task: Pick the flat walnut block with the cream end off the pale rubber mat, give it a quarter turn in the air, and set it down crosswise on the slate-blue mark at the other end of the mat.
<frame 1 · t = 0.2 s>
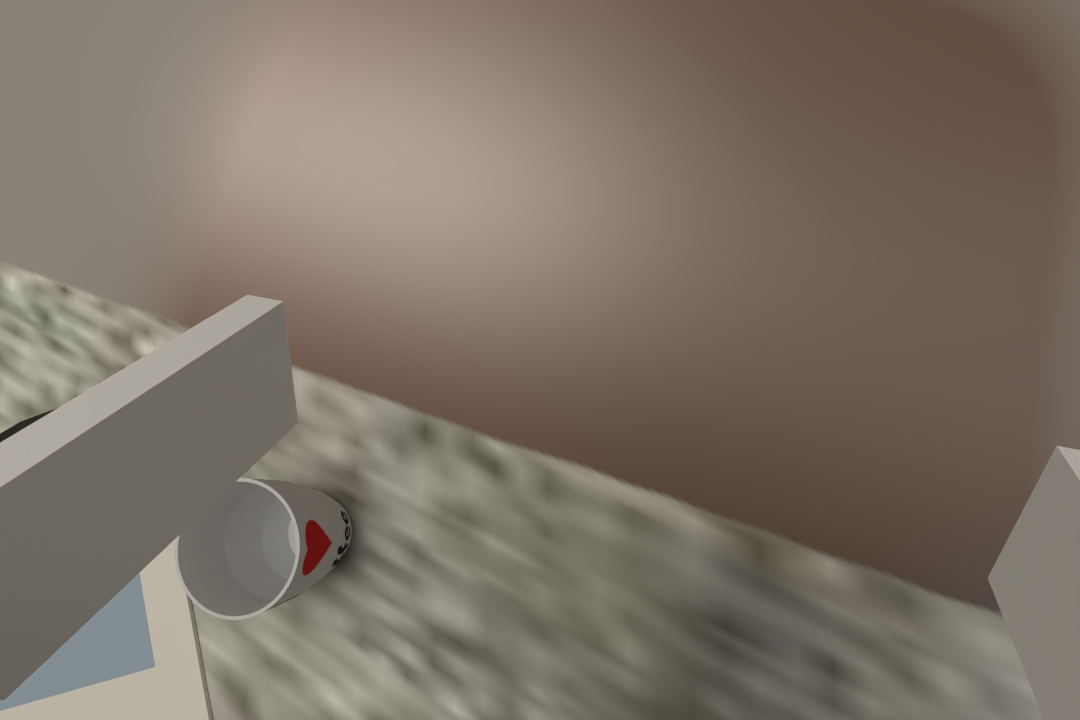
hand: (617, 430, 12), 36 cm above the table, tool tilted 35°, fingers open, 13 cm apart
cup: (320, 531, 51), on the table
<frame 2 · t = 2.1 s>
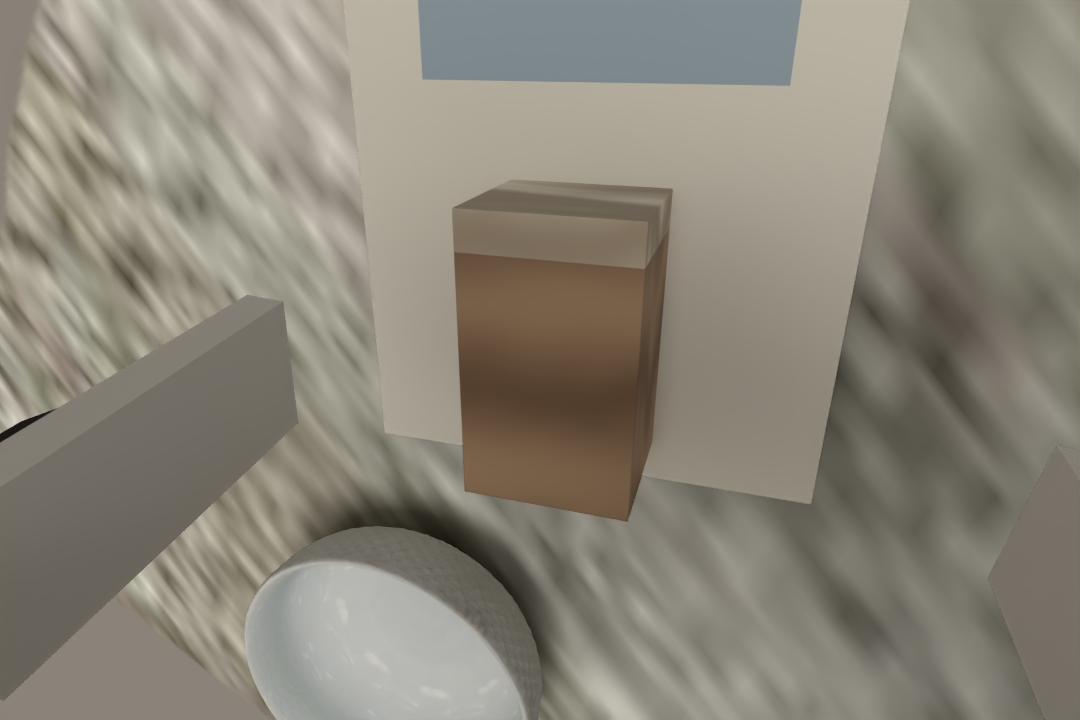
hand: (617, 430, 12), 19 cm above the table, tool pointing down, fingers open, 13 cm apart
cereal bowl: (435, 601, 43), on the table
mat: (592, 158, 29), on the table
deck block: (585, 316, 32), resting on mat
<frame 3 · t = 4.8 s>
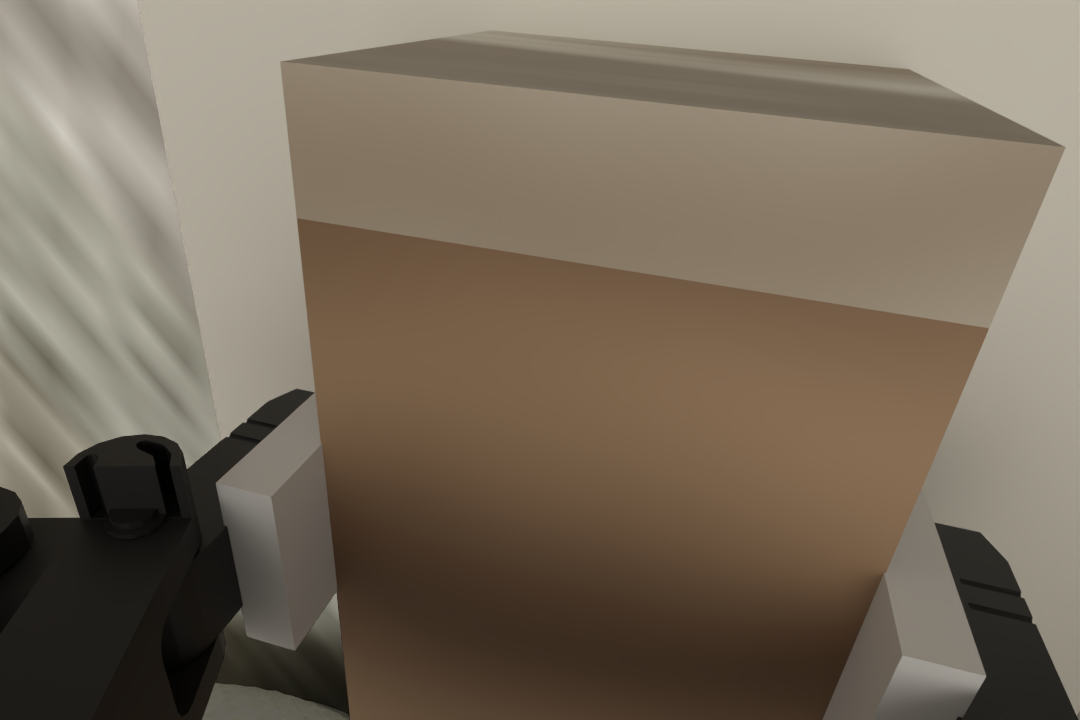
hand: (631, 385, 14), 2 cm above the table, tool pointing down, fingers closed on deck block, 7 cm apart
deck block: (639, 358, 15), resting on mat, touching gripper
when the fingers open (3 cm above the table, at t = 9.2 s): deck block drops 1 cm, resting on mat.
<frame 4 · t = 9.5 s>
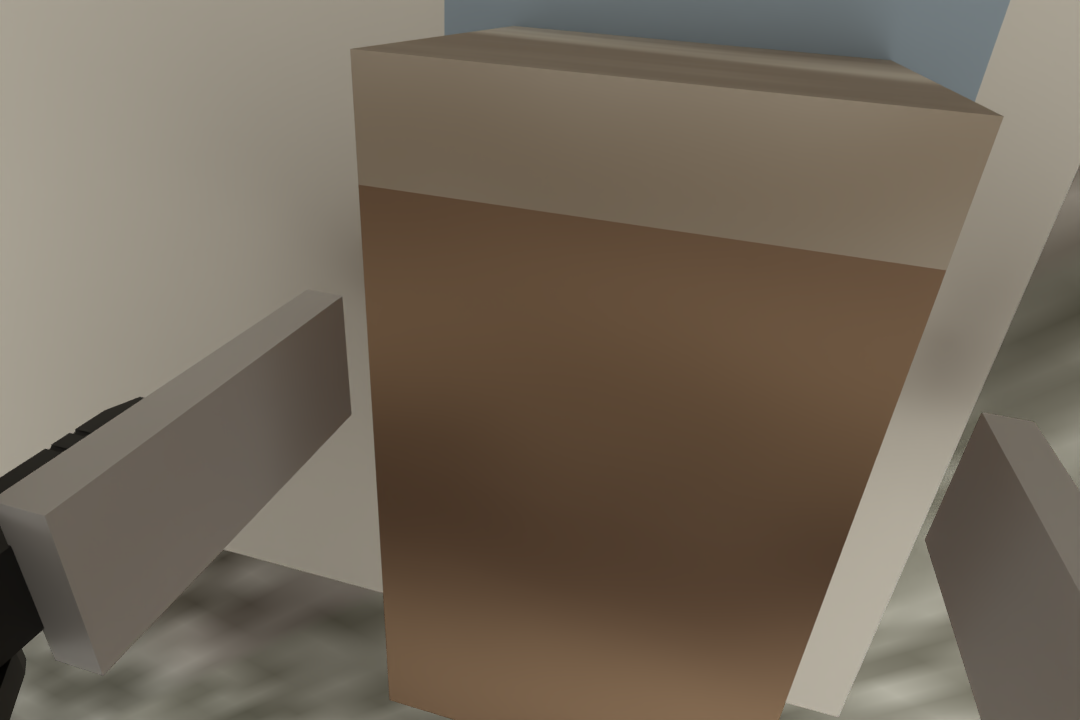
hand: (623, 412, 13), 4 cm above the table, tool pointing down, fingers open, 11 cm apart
mat: (341, 268, 18), on the table
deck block: (647, 329, 16), resting on mat
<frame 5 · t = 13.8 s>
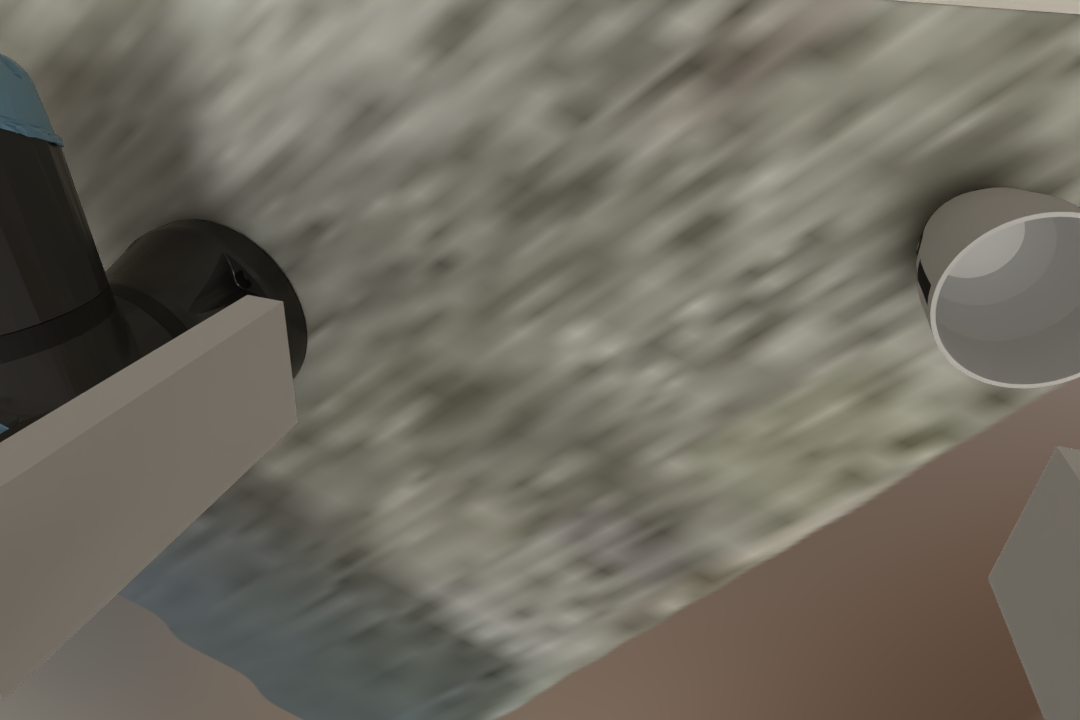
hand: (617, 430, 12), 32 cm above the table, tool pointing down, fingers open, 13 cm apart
cup: (973, 234, 38), on the table
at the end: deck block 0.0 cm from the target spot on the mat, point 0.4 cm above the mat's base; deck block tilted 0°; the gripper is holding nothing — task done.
